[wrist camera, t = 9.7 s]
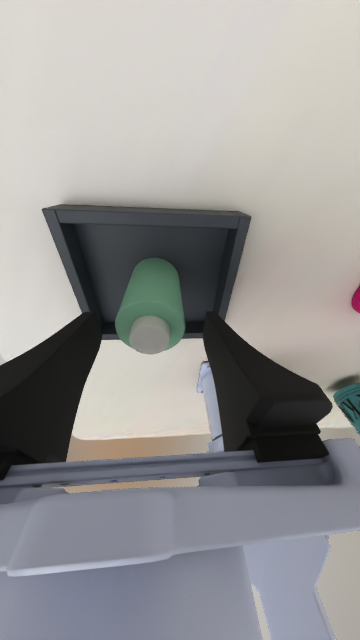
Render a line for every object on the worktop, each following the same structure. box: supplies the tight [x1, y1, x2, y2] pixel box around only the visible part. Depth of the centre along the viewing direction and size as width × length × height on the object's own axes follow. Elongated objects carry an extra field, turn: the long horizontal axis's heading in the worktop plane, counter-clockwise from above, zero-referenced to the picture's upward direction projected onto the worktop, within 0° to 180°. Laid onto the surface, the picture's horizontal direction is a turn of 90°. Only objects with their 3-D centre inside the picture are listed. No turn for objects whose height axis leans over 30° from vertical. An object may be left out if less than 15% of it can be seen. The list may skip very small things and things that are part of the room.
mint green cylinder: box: [115, 258, 185, 354], centre depth 13 cm, size 4×4×8 cm
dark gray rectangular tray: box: [42, 204, 251, 340], centre depth 16 cm, size 14×12×2 cm
